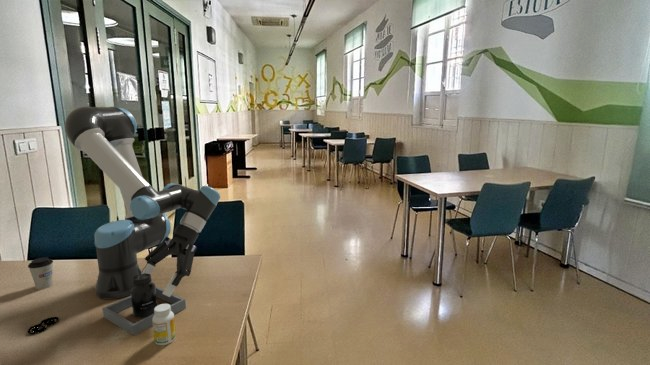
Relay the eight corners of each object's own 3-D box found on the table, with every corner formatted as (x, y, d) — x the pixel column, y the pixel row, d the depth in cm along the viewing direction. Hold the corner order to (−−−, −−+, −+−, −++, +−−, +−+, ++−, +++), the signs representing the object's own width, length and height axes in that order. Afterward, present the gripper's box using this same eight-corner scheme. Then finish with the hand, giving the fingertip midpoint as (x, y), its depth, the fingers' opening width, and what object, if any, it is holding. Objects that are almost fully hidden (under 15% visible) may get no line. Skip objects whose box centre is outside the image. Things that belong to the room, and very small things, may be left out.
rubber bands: (63, 320, 104) (63, 317, 104) (36, 337, 96) (36, 333, 96) (50, 318, 105) (49, 315, 105) (22, 334, 97) (22, 331, 97)
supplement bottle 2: (160, 348, 91) (156, 315, 89) (151, 340, 94) (147, 308, 92) (179, 338, 95) (176, 306, 93) (170, 331, 98) (167, 300, 97)
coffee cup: (27, 288, 122) (22, 262, 121) (49, 280, 129) (44, 254, 127) (39, 292, 120) (34, 265, 118) (61, 283, 126) (57, 257, 124)
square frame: (103, 317, 105) (102, 308, 105) (155, 293, 119) (154, 285, 118) (133, 335, 96) (132, 325, 96) (185, 308, 110) (185, 299, 109)
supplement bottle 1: (147, 320, 104) (143, 283, 101) (127, 317, 105) (123, 280, 103) (162, 307, 110) (159, 272, 108) (143, 305, 112) (139, 270, 109)
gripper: (221, 240, 112) (186, 304, 103) (173, 227, 125) (138, 283, 116) (207, 229, 107) (168, 296, 98) (158, 217, 120) (120, 275, 110)
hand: (152, 289), depth 107 cm, fingers open, 13 cm apart
